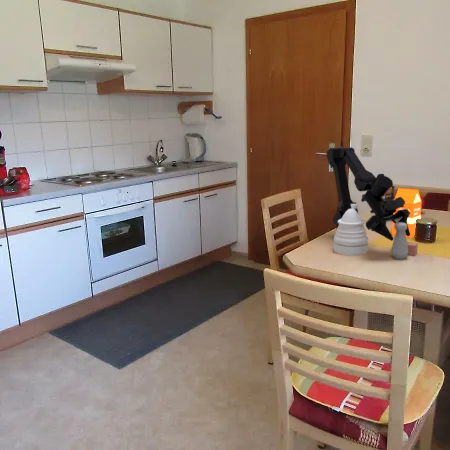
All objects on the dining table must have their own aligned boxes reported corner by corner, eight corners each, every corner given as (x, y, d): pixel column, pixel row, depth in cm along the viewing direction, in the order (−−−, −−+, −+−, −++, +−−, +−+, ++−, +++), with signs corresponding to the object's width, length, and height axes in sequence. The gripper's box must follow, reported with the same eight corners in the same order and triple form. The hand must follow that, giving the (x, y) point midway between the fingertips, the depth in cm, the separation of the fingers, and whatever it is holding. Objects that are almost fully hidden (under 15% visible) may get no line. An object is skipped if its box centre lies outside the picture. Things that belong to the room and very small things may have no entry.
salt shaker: (409, 260, 161) (411, 225, 158) (392, 259, 162) (393, 224, 159) (406, 255, 167) (407, 221, 164) (389, 255, 168) (391, 221, 165)
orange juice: (411, 238, 189) (413, 191, 184) (391, 234, 195) (393, 189, 191) (420, 234, 194) (422, 188, 189) (400, 231, 200) (402, 186, 196)
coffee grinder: (380, 215, 232) (382, 180, 228) (403, 216, 227) (405, 181, 223) (375, 222, 219) (376, 185, 215) (399, 223, 214) (401, 186, 209)
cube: (403, 254, 168) (404, 244, 167) (405, 251, 171) (406, 241, 170) (414, 256, 166) (415, 245, 165) (417, 253, 169) (417, 242, 168)
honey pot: (344, 244, 185) (345, 201, 180) (373, 249, 176) (375, 204, 171) (327, 251, 176) (327, 206, 172) (356, 257, 167) (358, 210, 163)
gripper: (372, 193, 158) (398, 229, 152) (407, 187, 168) (432, 221, 161) (355, 212, 167) (378, 247, 160) (388, 205, 176) (412, 238, 169)
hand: (401, 237), depth 162 cm, fingers open, 9 cm apart
